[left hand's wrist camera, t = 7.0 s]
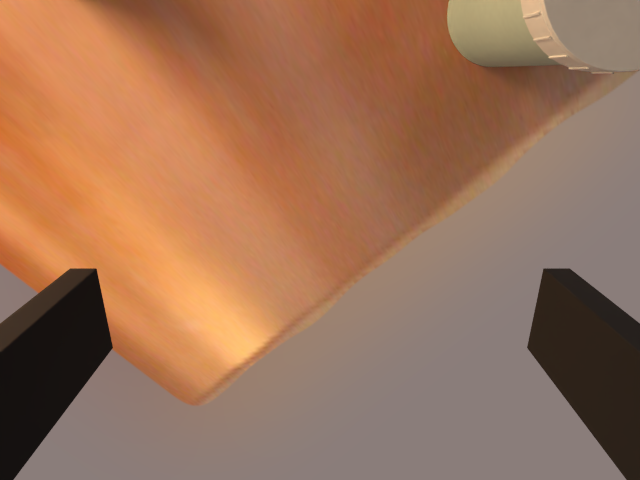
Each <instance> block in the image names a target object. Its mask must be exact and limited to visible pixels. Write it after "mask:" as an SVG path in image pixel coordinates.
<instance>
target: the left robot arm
mask: <svg viewBox="0 0 640 480" xmlns="http://www.w3.org/2000/svg"><path fill="white" fill-rule="evenodd" d="M112 348H113V347H112V342H111V337H110V332H109V327H108V322H107V318H106V313H105V308H104V303H103V298H102V293H101V289H100V284H99V279H98V274H97V269H69V270H68V271H67V272H65V273H64V274H63V275H62V276H60V277H59V278H58V279H56V280H55V281H54V282H53V283H51V284H50V285H49V286H48V287H46V288H45V289H44V290H42V291H41V292H40V293H39V294H37V295H36V296H35V297H34V298H32V299H31V300H30V301H29V302H27V303H26V304H25V305H23V306H22V307H21V308H20V309H18V310H17V311H16V312H14V313H13V314H12V315H11V316H9V317H8V318H7V319H6V320H4V321H3V322H2V323H0V480H13V479H14V478H15V477H16V475H17V474H18V473H19V471H20V470H21V469H22V467H23V466H24V465H25V463H26V462H27V461H28V460H29V458H30V457H31V456H32V454H33V453H34V452H35V450H36V449H37V448H38V446H39V445H40V444H41V442H42V441H43V440H44V438H45V437H46V436H47V434H48V433H49V432H50V430H51V429H52V428H53V426H54V425H55V424H56V422H57V421H58V420H59V418H60V417H61V416H62V414H63V413H64V412H65V410H66V409H67V408H68V406H69V405H70V404H71V402H72V401H73V400H74V398H75V397H76V396H77V395H78V393H79V392H80V391H81V389H82V388H83V387H84V385H85V384H86V383H87V381H88V380H89V379H90V377H91V376H92V375H93V373H94V372H95V371H96V369H97V368H98V367H99V365H100V364H101V363H102V361H103V360H104V359H105V357H106V356H107V355H108V353H109V352H110V351H111V349H112ZM527 348H528V349H529V351H530V352H531V353H532V355H533V356H534V357H535V359H536V360H537V361H538V363H539V364H540V365H541V367H542V368H543V369H544V371H545V372H546V373H547V375H548V376H549V377H550V379H551V380H552V381H553V383H554V384H555V385H556V387H557V388H558V389H559V391H560V392H561V393H562V395H563V396H564V397H565V398H566V400H567V401H568V402H569V404H570V405H571V406H572V408H573V409H574V410H575V412H576V413H577V414H578V416H579V417H580V418H581V420H582V421H583V422H584V424H585V425H586V426H587V428H588V429H589V430H590V432H591V433H592V434H593V436H594V437H595V438H596V440H597V441H598V442H599V444H600V445H601V446H602V448H603V449H604V450H605V452H606V453H607V454H608V456H609V457H610V458H611V460H612V461H613V462H614V464H615V465H616V466H617V467H618V469H619V470H620V471H621V473H622V474H623V475H624V477H625V478H626V479H627V480H640V323H638V322H637V321H636V320H634V319H633V318H632V317H631V316H629V315H628V314H627V313H626V312H624V311H623V310H622V309H620V308H619V307H618V306H617V305H615V304H614V303H613V302H612V301H610V300H609V299H608V298H606V297H605V296H604V295H603V294H601V293H600V292H599V291H598V290H596V289H595V288H594V287H592V286H591V285H590V284H589V283H587V282H586V281H585V280H584V279H582V278H581V277H580V276H578V275H577V274H576V273H575V272H573V271H572V270H571V269H543V274H542V279H541V284H540V289H539V293H538V298H537V303H536V308H535V313H534V318H533V322H532V327H531V332H530V337H529V342H528V347H527Z"/></svg>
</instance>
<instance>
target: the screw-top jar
mask: <svg viewBox="0 0 640 480" xmlns="http://www.w3.org/2000/svg"><path fill="white" fill-rule="evenodd" d="M447 21H448V29H449V33H450V36H451V39H452V41H453V43H454V45H455V47H456V48H457V50H458V51H459V52H460V53H461V54H462V55H463V56H464V57H465V58H466V59H468V60H469V61H471V62H473V63H475V64H478V65H481V66H485V67H511V66H542V65H561V64H559V63H558V62H556V61H555V60H553V59H549V58H548V57H549V56H548V55H547V54H546V53H544V52H543V51H542V49H541V48H540V47H539V46H538V45H537V44H536V42H535V41H533V37H532V36H531V34H530V32H529V30H528V27H527V25H526V23H525V19H523V12H522V7H521V0H449V4H448V12H447Z"/></svg>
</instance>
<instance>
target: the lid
mask: <svg viewBox="0 0 640 480" xmlns="http://www.w3.org/2000/svg"><path fill="white" fill-rule="evenodd" d="M521 7H522V12H523V19H525V23H526V25H527V27H528V30H529V32H530V34H531V36H532V37H533V41H535V42H536V44H537V45H538V46H539V47H540V48H541V49H542V51H543V52H544V53H546V54H547V55H548V56H549V57H548V58H549V59H553V60H555V61H556V62H558V63H559V64H561V65H564V66H566V67H569V68H568V69H570V70H580V71H588V72H591V73H592V74H614V72H626V71H639V70H640V0H521Z"/></svg>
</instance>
